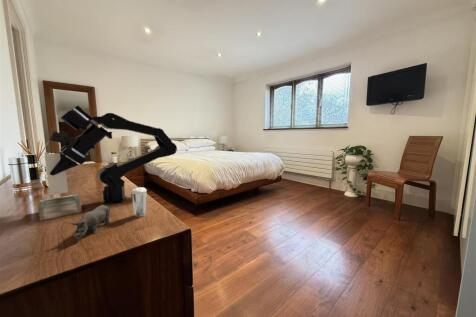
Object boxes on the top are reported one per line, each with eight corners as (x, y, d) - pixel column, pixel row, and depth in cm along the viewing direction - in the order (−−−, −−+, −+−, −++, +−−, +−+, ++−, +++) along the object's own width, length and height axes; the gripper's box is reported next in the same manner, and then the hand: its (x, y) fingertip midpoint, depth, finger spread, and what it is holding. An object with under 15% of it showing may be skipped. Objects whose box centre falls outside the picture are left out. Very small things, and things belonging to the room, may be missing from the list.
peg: (67, 189, 69) (63, 153, 68) (68, 192, 66) (63, 154, 64) (49, 192, 66) (44, 154, 65) (49, 195, 63) (44, 155, 61)
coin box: (78, 204, 74) (77, 194, 74) (81, 211, 67) (80, 200, 66) (41, 211, 67) (40, 200, 67) (39, 220, 60) (38, 207, 60)
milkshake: (133, 212, 65) (131, 183, 64) (150, 212, 66) (148, 183, 65) (127, 218, 61) (124, 187, 60) (144, 217, 61) (142, 186, 60)
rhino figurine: (63, 246, 46) (60, 222, 45) (101, 221, 59) (99, 202, 59) (81, 246, 46) (78, 222, 45) (114, 221, 60) (113, 202, 59)
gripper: (65, 124, 73) (25, 156, 67) (68, 121, 59) (19, 160, 53) (93, 144, 79) (59, 175, 73) (101, 146, 66) (61, 183, 59)
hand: (51, 173), depth 64 cm, fingers closed on peg, 4 cm apart
